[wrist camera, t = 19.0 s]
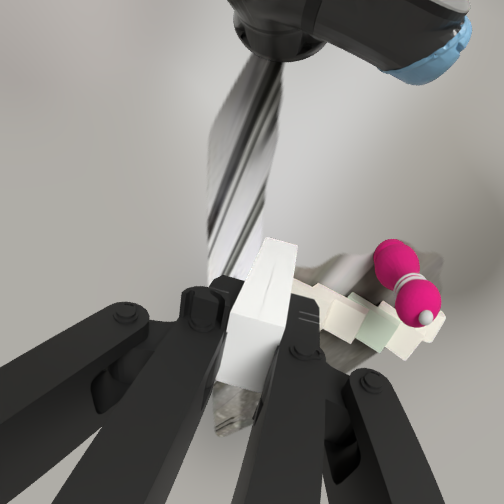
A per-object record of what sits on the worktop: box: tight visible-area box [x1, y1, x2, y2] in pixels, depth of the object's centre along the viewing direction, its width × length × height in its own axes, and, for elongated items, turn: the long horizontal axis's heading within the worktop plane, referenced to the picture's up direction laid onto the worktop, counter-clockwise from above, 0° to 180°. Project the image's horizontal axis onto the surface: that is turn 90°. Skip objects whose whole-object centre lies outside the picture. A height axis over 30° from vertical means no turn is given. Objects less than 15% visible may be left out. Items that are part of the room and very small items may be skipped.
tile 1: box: [291, 278, 335, 331], centre depth 50 cm, size 6×2×10 cm
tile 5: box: [422, 311, 446, 343], centre depth 49 cm, size 6×2×10 cm
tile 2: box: [313, 283, 369, 344], centre depth 49 cm, size 6×2×10 cm
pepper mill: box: [373, 239, 441, 328], centre depth 38 cm, size 7×7×20 cm
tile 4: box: [378, 301, 426, 361], centre depth 48 cm, size 6×2×10 cm
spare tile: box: [348, 292, 401, 353], centre depth 49 cm, size 6×2×10 cm
